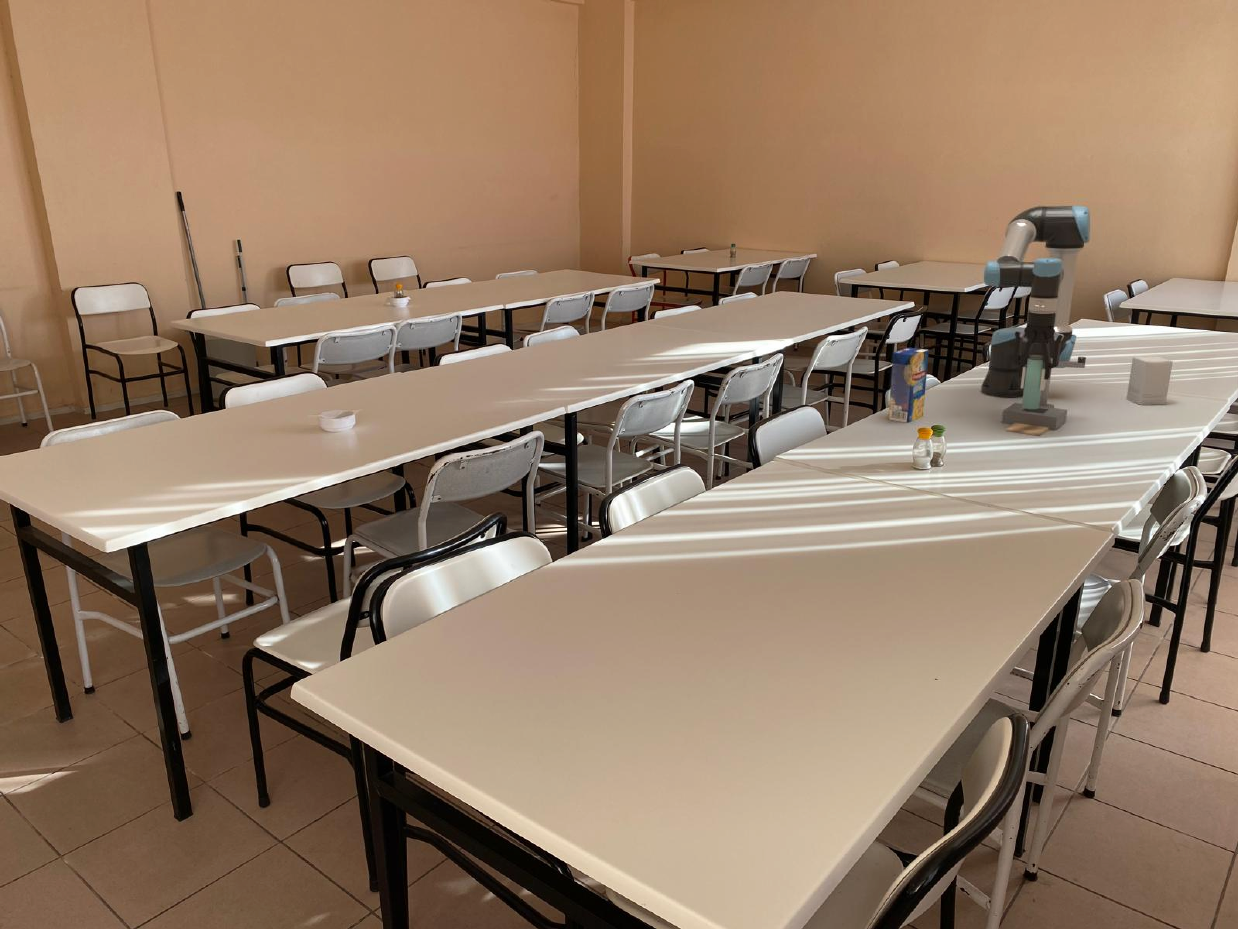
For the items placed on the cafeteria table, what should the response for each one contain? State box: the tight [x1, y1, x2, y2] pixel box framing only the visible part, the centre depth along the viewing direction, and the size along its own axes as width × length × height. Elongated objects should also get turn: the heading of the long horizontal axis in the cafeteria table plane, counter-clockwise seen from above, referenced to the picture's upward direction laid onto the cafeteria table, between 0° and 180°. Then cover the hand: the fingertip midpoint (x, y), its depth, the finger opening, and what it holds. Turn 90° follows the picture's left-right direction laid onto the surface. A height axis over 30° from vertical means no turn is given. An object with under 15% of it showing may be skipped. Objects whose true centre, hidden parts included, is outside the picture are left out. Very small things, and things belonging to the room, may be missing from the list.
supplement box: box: [1126, 355, 1173, 406], centre depth 301 cm, size 9×9×15 cm
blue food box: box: [887, 347, 929, 423], centre depth 288 cm, size 7×11×22 cm, turn 137°
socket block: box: [1001, 367, 1068, 431], centre depth 282 cm, size 16×16×16 cm
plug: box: [1021, 355, 1044, 409], centre depth 270 cm, size 5×5×16 cm
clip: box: [1044, 356, 1087, 369], centre depth 282 cm, size 12×4×3 cm, turn 71°
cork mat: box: [1005, 423, 1049, 437], centre depth 275 cm, size 10×10×1 cm
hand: (1032, 388), depth 271 cm, fingers closed on plug, 5 cm apart
